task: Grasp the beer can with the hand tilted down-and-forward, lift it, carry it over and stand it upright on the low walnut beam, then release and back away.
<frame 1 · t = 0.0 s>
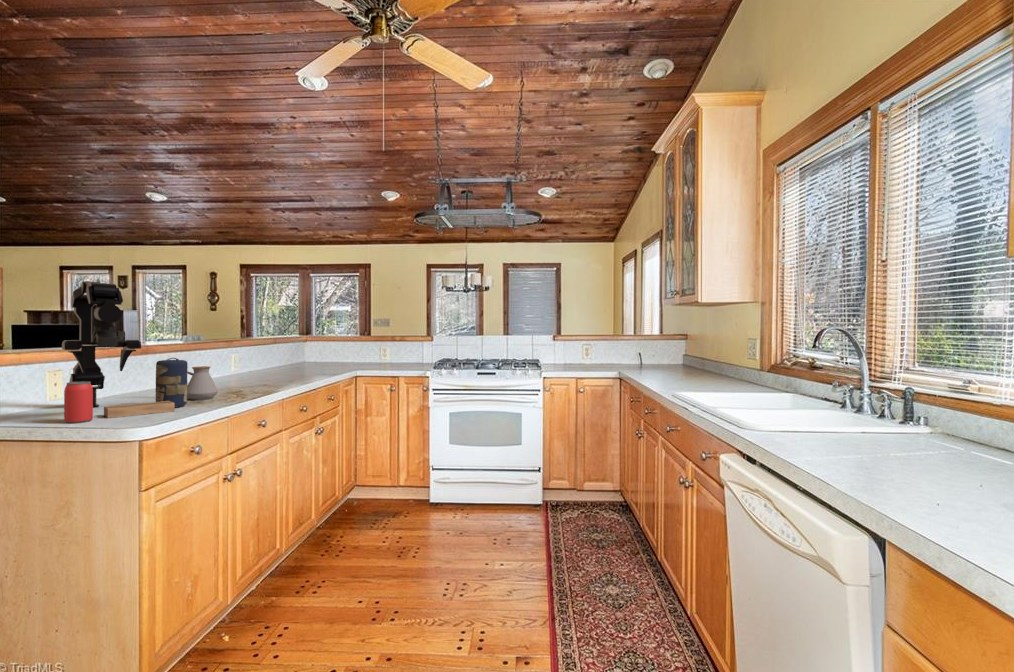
hand: (102, 371, 153), 15 cm above the countertop, tool pointing down, fingers open, 9 cm apart
walnut beam: (140, 413, 162), on the countertop
canister: (171, 407, 176), on the countertop
coffee pot: (187, 399, 194), on the countertop
beer can: (78, 422, 148), on the countertop
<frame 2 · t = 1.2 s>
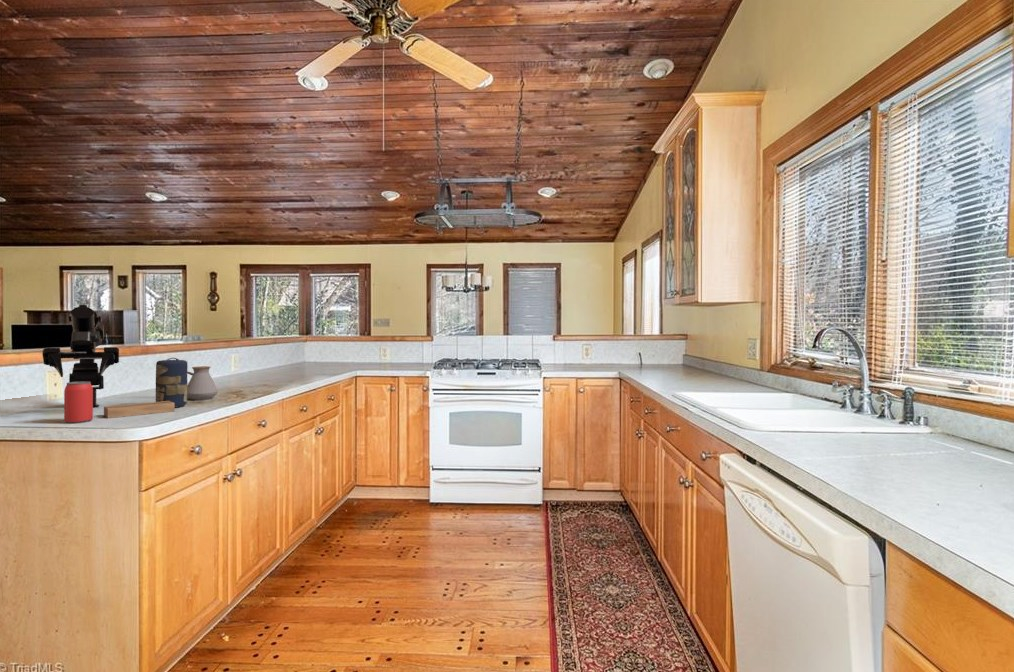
hand: (81, 375, 154), 13 cm above the countertop, tool tilted 45°, fingers open, 9 cm apart
nothing on the countertop moved.
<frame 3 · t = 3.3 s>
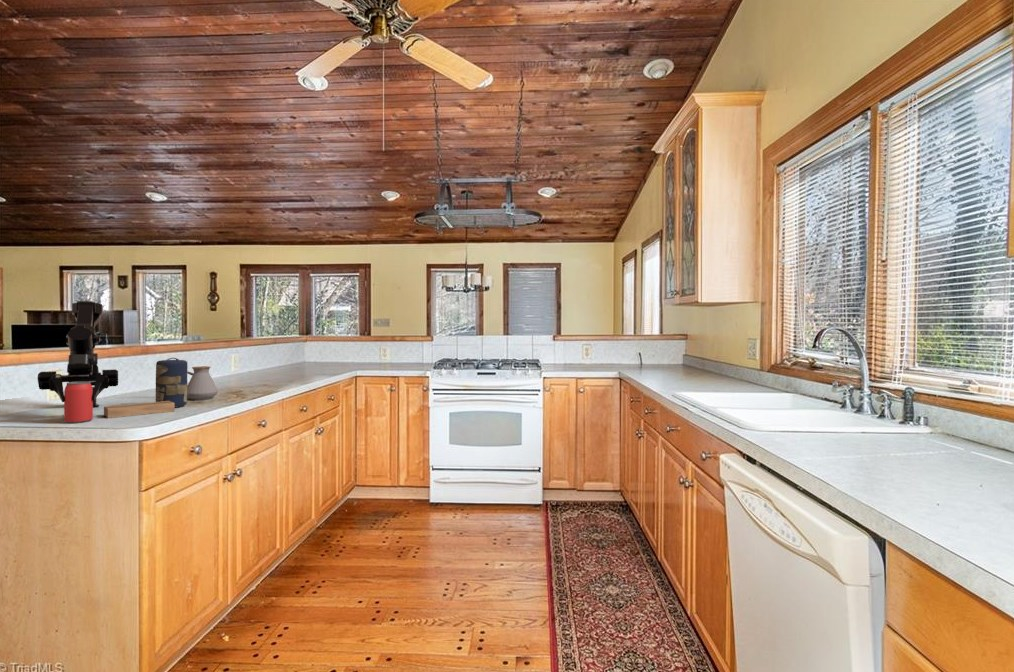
hand: (78, 400, 147), 7 cm above the countertop, tool tilted 45°, fingers closed on beer can, 6 cm apart
beer can: (78, 422, 148), on the countertop, touching gripper
everything else where it was.
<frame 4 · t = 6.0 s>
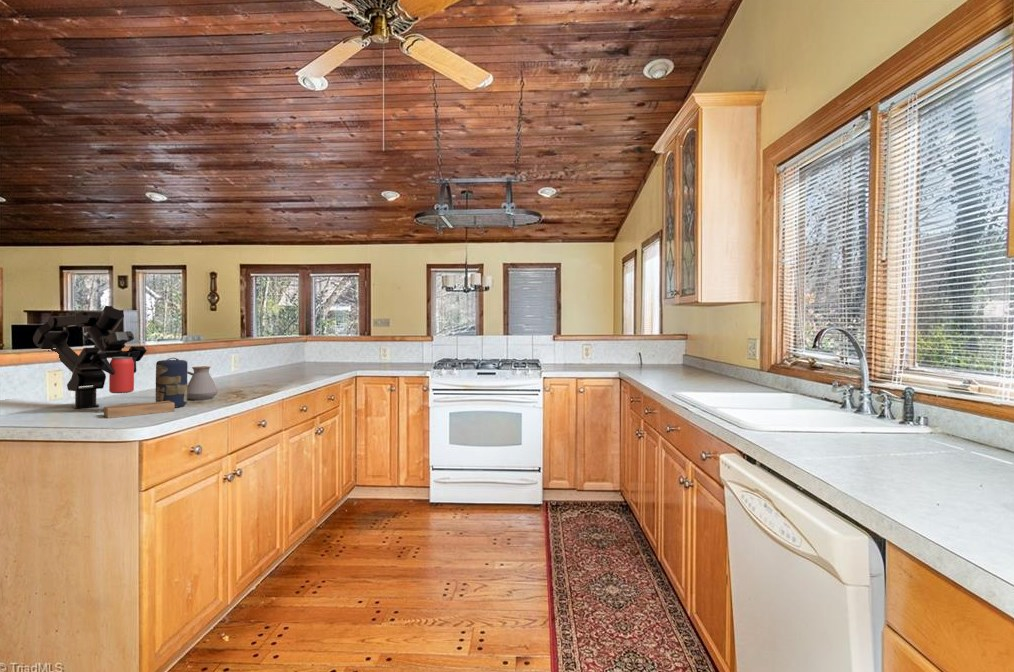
hand: (124, 372, 165), 13 cm above the countertop, tool tilted 45°, fingers closed on beer can, 6 cm apart
beer can: (121, 392, 165), point 6 cm above the countertop, touching gripper
everything else where it was.
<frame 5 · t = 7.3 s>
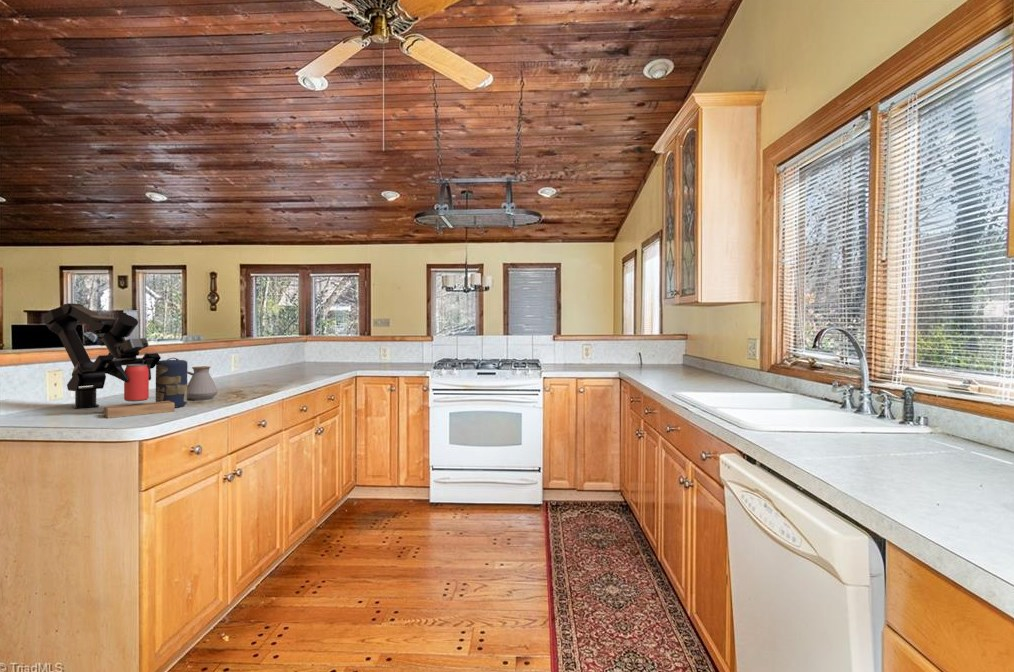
hand: (139, 380, 162), 11 cm above the countertop, tool tilted 45°, fingers closed on beer can, 6 cm apart
beer can: (136, 400, 163), point 4 cm above the countertop, touching gripper
everything else where it was.
when the fingers open (10 cm above the countertop, at t = 8.6 s): beer can stays where it is, resting on walnut beam.
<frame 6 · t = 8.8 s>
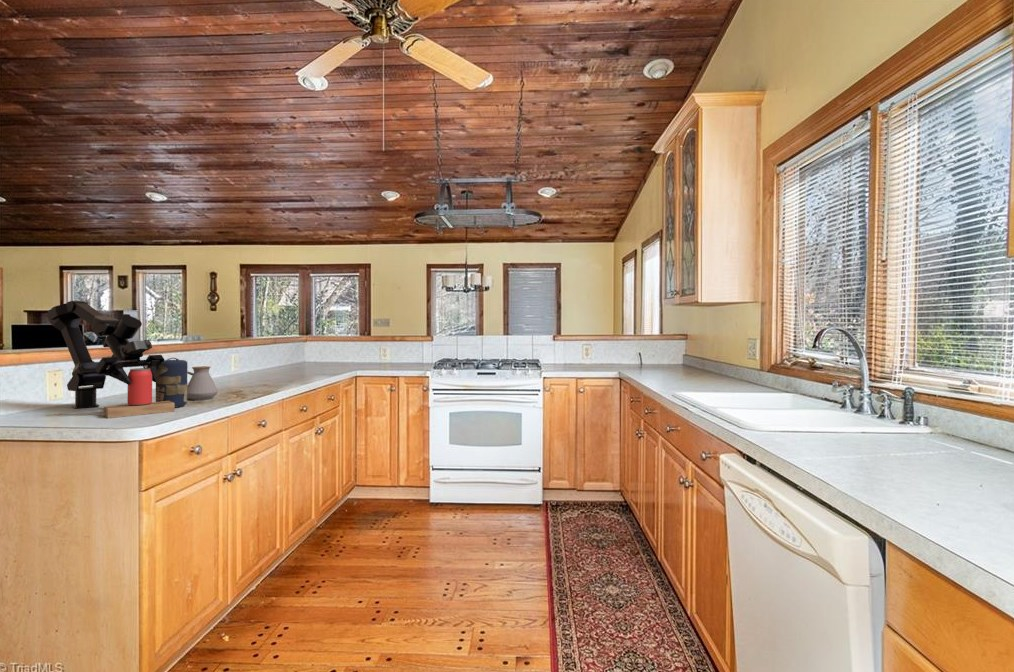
hand: (143, 382, 161), 11 cm above the countertop, tool tilted 45°, fingers open, 8 cm apart
beer can: (139, 405, 162), point 3 cm above the countertop, touching walnut beam
everything else where it was.
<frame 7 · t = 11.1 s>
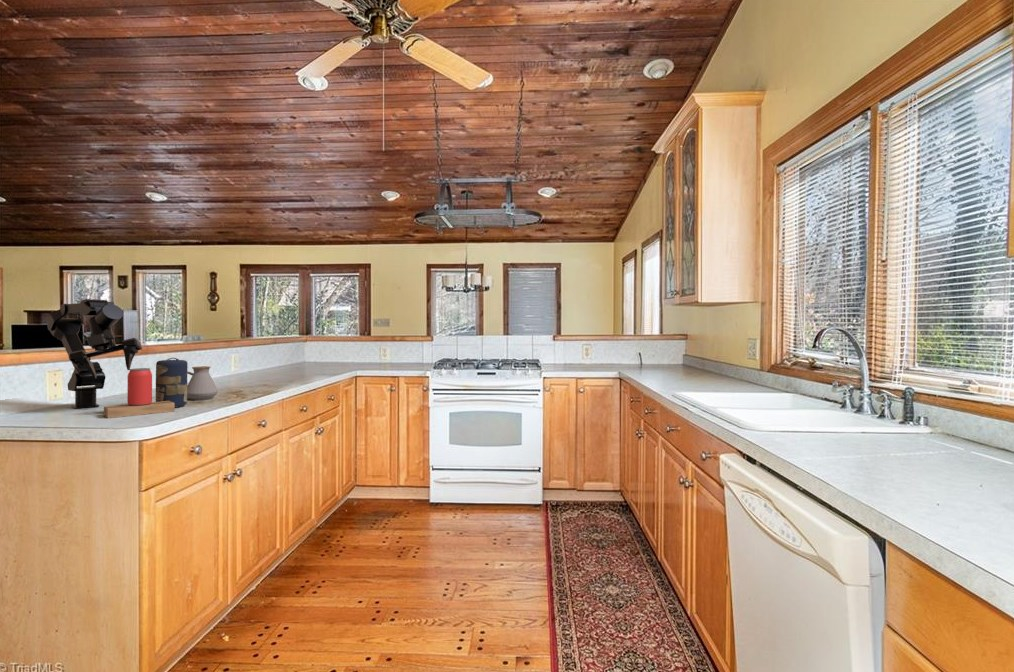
hand: (112, 373, 163), 13 cm above the countertop, tool tilted 30°, fingers open, 9 cm apart
nothing on the countertop moved.
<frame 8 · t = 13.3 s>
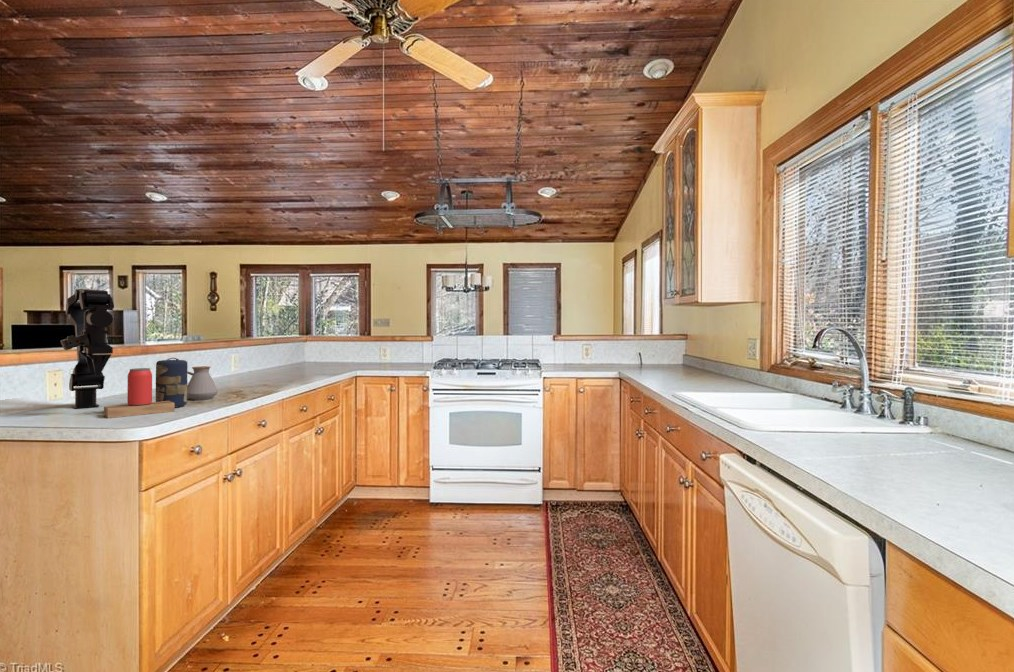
hand: (94, 374, 161), 13 cm above the countertop, tool pointing down, fingers open, 9 cm apart
nothing on the countertop moved.
at the end: beer can inside the target area on the walnut beam (0.1 cm from its centre), point 2.8 cm above the walnut beam's base; beer can tilted 0°; the gripper is holding nothing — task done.
